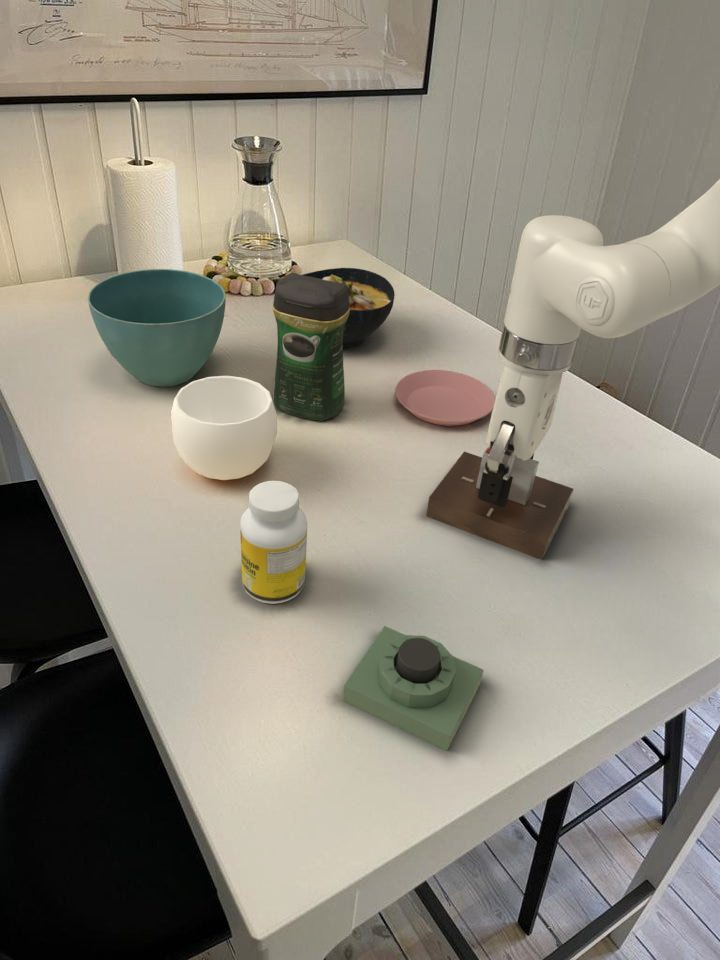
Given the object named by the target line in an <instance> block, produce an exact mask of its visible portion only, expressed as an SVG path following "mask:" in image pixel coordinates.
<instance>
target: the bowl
mask: <svg viewBox="0 0 720 960" xmlns="http://www.w3.org/2000/svg"><path fill="white" fill-rule="evenodd" d="M302 275H303V276H308V277H313V278H318V279H323V280H327V281H332V282H338V283H345V284H346V285H347V287H348V292H349V303H350V312H349V316H348V319H347V321H346V323H345V325H344V330H343V350H351V349H355V348H357V347H359V346H361V345H362V344H363V343H364V341H365V340H366V338H367V337H369V336H370V335H371V334H373V333H374V332H376V330H378V329H379V328H380V327H381V326H382V325H383V324H384V323H385V321H386V320H387V318H388V317H389V316H390V314H391V312H392V309H393V307H394V300H395V296H396V295H395V289H394V287H393V285H392V284H391V282H389V281H388V280H387V279H386V278H385V277H384V276H382V275H380V274H378V273H377V272H373V271H370V270H367V269H362V268H355V267H336V268H335V267H334V268H326V269H321V270H315V271H312V272H311V271H310V272H307V273H303V274H302Z"/></svg>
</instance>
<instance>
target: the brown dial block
mask: <svg viewBox="0 0 720 960" xmlns="http://www.w3.org/2000/svg"><path fill="white" fill-rule="evenodd" d="M481 461H482V456H479V455H476V454H473V453H471V452H467V451H463V452H462V453H461V455H460V456H459V457H458V459H457V460H456V461H455V463H454V464H453V465H452V467H451V468H450V469H449V470H448V472H447V473H446V474H445V476H444V477H443V478H442V480H441V481H440V482H439V484H438V485H437V486H436V488H435V489H434V490H433V492H432V493H431V494H430V496H429V497H428V502H427V508H426V515H425V517H426V518H428V519H429V518H430V519H432V520H435V521H437V522H440V523H443V524H445V525H448V526H451V527H452V528H455V529H458V530H460V531H461V530H462V531H463V532H466V533H469V534H472V535H474V536H476V537H480V538H482V539H485V540H487V541H491V542H492V543H495V544H498V545H500V546H503V547H506V548H509V549H511V550H514V551H517V552H518V553H519V552H520V553H521V554H524V555H527V556H530V557H533V558H535V559H538V560H540V561H542V560H543V559H544V557H545V555H546V552H547V551H548V549H549V547H550V545H551V543H552V541H553V538H554V536H555V535H556V532H557V531H558V529H559V527H560V525H561V522H562V521H563V519H564V517H565V514H566V512H567V511H568V508H569V505H570V502H571V499H572V495H573V493H574V488H573V487H570V486H567V485H564V484H561V483H558V482H555V481H553V480H550V479H547V478H545V477H544V478H543V477H540V476H538V475H536V476H535V480H534V484H533V487H532V491H531V495H530V497H529V499H528V501H527V503H526V504H525V505H523V504H520V503H517V502H514V501H511V500H509V499H508V500H507V504H506V506H505V507H499V506H497V505H494V504H491V503H488V502H486V501H483V500H480V499H479V498H478V493H479V489H478V488H476V486H477V481H478V476H479V471H480V466H481Z"/></svg>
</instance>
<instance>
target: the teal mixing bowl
mask: <svg viewBox="0 0 720 960" xmlns="http://www.w3.org/2000/svg"><path fill="white" fill-rule="evenodd" d="M226 296H227V294H226V291H225V288H224V287H223V286H222V285H221V284H219V282H217V281H216V280H214V279H212V278H209V277H208V276H205V275H203V274H200V273H196V272H194V271H193V272H192V271H187V270H181V269H172V268H150V269H149V268H148V269H137V270H131V271H126V272H123V273H118V274H115V275H112V276H110V277H107V278H105V279H103V280H101V281H99V282H98V283H96V284H95V285H94V286H93V287H92V288H91V289H90V291H89V292H88V295H87V302H88V306H89V307H88V308H89V312H90V315H91V318H92V320H93V323H94V325H95V329H96V330H97V333H98V335H99V337H100V339H101V341H102V342H103V344H104V345H105V347H106V349H107V350H108V351H109V353H110V354H111V356H112V357H113V359H115V361H116V362H117V364H119V365H120V366H121V367H122V368H123V369H124V370H126V371H127V372H128V373H129V374H130V375H131V376H133V377H134V378H135V379H136V380H137V381H138V382H141V383H143V384H144V385H147V386H152V387H159V388H167V387H175V386H178V385H182V384H184V383H186V382H188V381H190V380H191V379H192V378H193V377H194V376H196V374H197V373H198V372H199V371H200V370H201V369H202V368H203V366H204V365H205V363H207V361H208V359H209V358H210V356H211V355H212V353H213V351H214V349H215V347H216V345H217V343H218V340H219V337H220V334H221V331H222V328H223V324H224V318H225V312H226V302H227V301H226V299H227V297H226Z"/></svg>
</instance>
